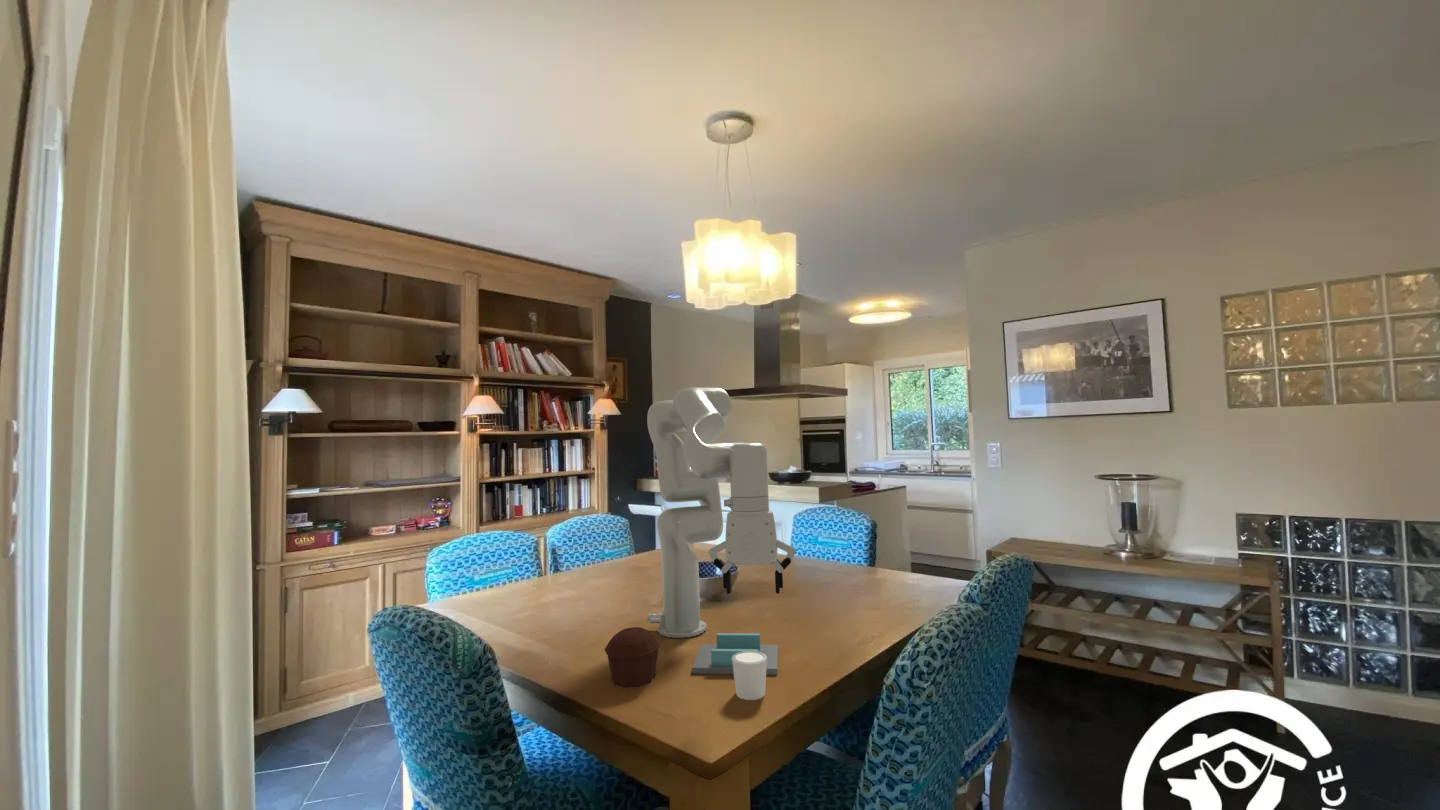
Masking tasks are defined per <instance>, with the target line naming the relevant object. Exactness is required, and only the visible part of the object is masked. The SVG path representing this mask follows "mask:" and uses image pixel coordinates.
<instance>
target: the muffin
mask: <svg viewBox="0 0 1440 810" xmlns="http://www.w3.org/2000/svg"><path fill="white" fill-rule="evenodd" d="M660 646H661V644H660V642H659V641H658V639H657V638H656V637H655V635H654V634H653V632H652V631H650V630H648V629H645V628H644V627H640V626H639V627H638V626H632V627H628V628H627V627H626V628H624V629H621V630H620V631H619V632H617V633H615V634H614V635H613V636H612V637H611V639H610V640H609V642H608V643H607V644H606V647H605V648H604V652H605V654H606V656H607V660H608V665H609V671H610V678H611V681H612V680H613V681H612V682H613V684H614V686H616V685H617V687H622V688H625V689H629V688H639V687H642V686H645V685H647V684H651V682H652V681H653V680H654V678H655V677H656V671H657V670H656V669H657V663H658V655H659V649H660Z"/></svg>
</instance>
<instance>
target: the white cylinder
mask: <svg viewBox="0 0 1440 810" xmlns="http://www.w3.org/2000/svg"><path fill="white" fill-rule="evenodd" d="M732 664H733V672H734V674H733V680H734V686H735V687H734V688H735V694H736V697H738V698H739V699H742V700H746V701H756V700H759V699H762V698H764V697H765V695H766V685H767V684H766V682H767V674H766V667H767V656H766V655H765V654H763V653H761V652H756V651H744V652H739V653H736V654H735V655H733V657H732Z"/></svg>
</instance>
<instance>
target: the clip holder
mask: <svg viewBox="0 0 1440 810" xmlns="http://www.w3.org/2000/svg"><path fill="white" fill-rule="evenodd" d="M715 637H716V643H701V644H700V647H699V649H698V651H697V653H696V656H695V659H694V661H693V665H692V667H691V674H698V675H699V674H705V675H706V674H707V675H709V674H710V675H734V672H733V664H732V657H733V655H735V654H736V653H739V652H744V651H756V652H761V653H763V654H765V655H766V656H767V667H766V675H771V676H772V675H778V662H779V661H778V660H779V657H778V656H779V644H772V643H771V644H767V643H766V644H762V643H761V633H752V632H751V633H746V632H745V633H743V632H742V633H741V632H739V633H737V632H736V633H734V632H733V633H732V632H731V633H729V632H728V633H727V632H725V633H722V632H721V633H718V632H717V633H716V636H715Z"/></svg>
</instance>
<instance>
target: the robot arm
mask: <svg viewBox="0 0 1440 810" xmlns="http://www.w3.org/2000/svg"><path fill="white" fill-rule="evenodd" d="M731 412H732V399H731V397H730V396H729V393H728V392H727V391H726V390H724V389H722V388H720V387H694V386H693V387H686V388H683V389H681V390H679V391H677V393H676V394H675V395H674V397H673V399H668V400H660V401H656V402H655V403H652V404H651V405H650V407H649V408H648V410H647V418H646V420H647V423H646V424H647V430H648V433H649V437H650V440H651V442H652V444H653V448H654V450H655V454H656V465H657V466H656V467H657V475H658V477H657V478H658V485H659V486H658V487H659V491H660V496H661V499H662V500H663V501H664V502H666V503H687V502H690V503H691V502H698V503H699V505H695V506H681V507H680V506H679V507H673V508H668V509H666V510H663V512H661V513H660V514H659V516H658V518H657V523H656V524H657V534H658V537H659V538H658V539H659V545H660V551H661V552H660V553H661V569H662V571H661V573H662V612H659V613H648V614H647V621H648V622H649V623H650V624H658V626H657V633H658V632H659V633H660V634H659V633H658V634H659V635H660V636H662V635H663V636H662V637H665V636H666V638H670V637H672V638H671V639H673V638H674V639H685V638H684V637H687V638H691V637H692V636H693V637H696V635H697V636H699V635H702V634H703V633H705V632H706V630H707V623H706V622H705V621H703V620H701V606H700V605H701V604H700V603H701V602H700V601H701V600H700V598H701V597H700V575H699V574H700V573H699V572H700V570H699V569H700V567H699V559H698V557H697V555H696V554H695V552H694V551H693V550H692V549H691V548H690V546H689V545H693V544H696V543H697V544H698V543H706V542H712V541H716V540H719V538H721V536H722V535H723V532H724V520H723V510H722V500H721V492H720V483H719V479H729V480H730V483H729V484H730V497H729V499H724V500H723V507H727V508H730V510H731V511H729V512H728V513H727V515H726V522H725V540H724V541H722V542H720V543H719V544H717V545H715V546H714V547H712V548H709V550H708V555H709V557H710V558H711V560H712V561H713V564H714V565H715V567H717V568H718V569H719V570H720V572H721V573H722V577H723V578H722V580H723V581H722V582H723V589H726V594H727V595H730V594H731V592H732V591H733V587H732V581H733V580H732V571H731V568H732V567H733V565H737V566H738V565H739V566H740V565H741V566H742V565H743V566H744V565H745V566H746V565H747V566H748V565H750V566H751V565H755V566H756V565H771V566H772V567H773V568H774V569H775V571H774V580H775V582H774V584H775V593H776V594H778V595H779V594H780V592H781V591H780V590H781V589H783V588H784V580H783V578H784V577H783V573H784V571H785V570H786V568H788V566H790V564H791V562H792V560H793V559H794V556H795V554H796V552H797V551H796V548H795V547H793V546H791V545H790V544H787V543H785V542H784V541H782V540H779V539H778V538H777V537H778V536H777V529H776V528H777V527H776V523H775V515H774V514H773V513H774V512H773V511H772V510H770V504H769V503H770V501H769V499H770V498H769V481H768V480H769V479H768V476H769V475H768V456H767V455H768V454H767V448H766V446H765V445H764V444H763V443H758V442H749V443H748V442H715V441H716V440H717V439H718V438H720V436H721V435H722V434H723V432H724V428H725V421H726V420H727V419H728V418H729V417H730V415H731ZM679 432H682V433H685V434H684V437H683V440H682V439H681V438H680V437H679V436H678V435H677V434H676V433H679ZM778 549H780V550H782V551H784V552H786V553H787V554H786V555H785V557H784V558H783V560H782V561H780V560H779V559H778ZM724 550H725V560H726V561H725V562H724V561H723V560H722V559H721V558H720V556H719V555H718V553H719V552H721V551H724ZM704 631H705V632H704ZM701 633H702V634H701ZM693 637H692V638H693Z"/></svg>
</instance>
